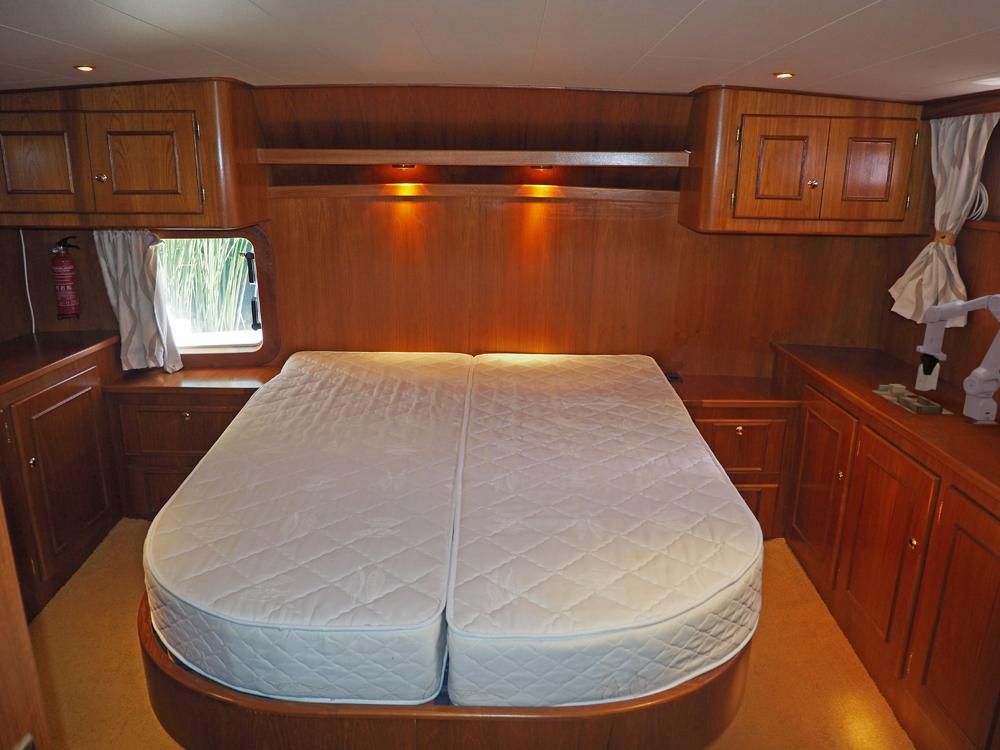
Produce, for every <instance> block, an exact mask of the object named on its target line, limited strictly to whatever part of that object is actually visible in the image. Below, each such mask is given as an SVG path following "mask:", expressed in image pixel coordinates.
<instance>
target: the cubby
mask: <svg viewBox="0 0 1000 750" xmlns="http://www.w3.org/2000/svg"><path fill="white" fill-rule="evenodd" d="M917 396H918V397H916V398H917V403H919V404H921V405H923V406H920V405H918V404H916V403H914V402H912V401H910V400H908V399H906V398H904V397H902V396H897V403H899V404H901V405H903V406H905V407H906V408H908V409H910V410H912V411H914V412H916V413H918V415H920V414H921V415H930V414H931V415H933V414H934V415H936V414H937V415H943V414H942V411H943V409H944V406H942V405H940V404H938V403H936V402H934V401H933V400H930V399H928V398H926V397H924V396H922V395H917Z"/></svg>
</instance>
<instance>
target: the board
mask: <svg viewBox="0 0 1000 750" xmlns="http://www.w3.org/2000/svg"><path fill="white" fill-rule="evenodd" d="M888 389H889V384H878V388H877V390H876V389H875V390H870V391H871V392H873V393H875V394H877V395H879V396H881V397H882V398H884V399H886V400H887V401H890V402H892V403H894V404H895V405H897V406H899V407H901V408H903V409H905V410H907V411H909V412H910V413H912V414H914V415H916V414H918V413H916V412H914V411H912V410H910V409H908V408H906V407H905V406H903V405H901V404H899V403H897V397H892V396H890V395H888ZM909 396H915V398H914V397H913V398H912V397H909ZM918 396H919V395H917V394H914V393H913V392H911V391H909V390H905V395H904V398H906V399H908V400H910V401H912V402H914V403H916V404H918V405H920V406H923V405H921V404H919V403H917V398H918ZM946 414H947V415H954V412H952V411H949V410H947V409H945V408H943V411H942V414H941V415H946ZM918 415H919V414H918Z"/></svg>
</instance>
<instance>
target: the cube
mask: <svg viewBox="0 0 1000 750" xmlns="http://www.w3.org/2000/svg"><path fill="white" fill-rule="evenodd" d="M888 385H889V389H888V395H890V396H892V397H897V396H902V397H904V395H905V391H906V389H907V387H906V386H905V385H902V384H900V383H899V384H898V383H894V384H893V383H889V384H888ZM905 396H906V395H905Z"/></svg>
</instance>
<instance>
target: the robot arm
mask: <svg viewBox="0 0 1000 750" xmlns="http://www.w3.org/2000/svg"><path fill="white" fill-rule="evenodd" d="M981 309H986V310H989V311H990V313H991V314H992V315H993V316H994V317H995V318H996V320H997V321H998V322H999V323H1000V294H998V293H996V294H994V295H993V294H992V295H988V294H987V295H985V296H981V297H978V298H975V299H972V300H971V299H970V300H968V301H964V300H962V299H958V298H956V299H952V301H951V302H947V303H945V302H942V303H940V305H931V306H929V307H928V308H926V310H925V311H924V317H925V319H926V322H927V323H926V328H925V332H924V333H925V334H924V340H923V344H922V345H917V346H916V350H915V351H916V352H919V353H923V354H920V355H919V359H920V360H921V364H922V366H923V374H924V375H931V374H932V372H933V370H934V368H935V366H936V365H937V364H938V363H940V362H941V361H947V354H945V353H944V352H943V351H942V348H943V347H942V346H943V345H942V344H943V342H944V341H943V339H944V335H945V329H946V327H947V324H948V322H949V321H950V320H953V319H957V318H961V317H965V316H966V315H967V314H968V312H969V311H975V310H981ZM985 354H986V355H984V358H983V360H982V362H981V364H980V365H979V367H977V368H975V369H973V370H972V371H971V373H970V375H969V376H967V377H966V378H964V380H963V384H962V385H963V386H962V387H963V389H964V391H965V394H966V395H965V400H964V401H965V402H964V405H963V411H962V414H963V415H964V416H966V417H969V418H971V419H974V420H968V422H969V423H972V424H973V425H997V422H996V420H995V419H996V417H997V416H996V415H997V410H998V403H997V402H996V401H995V400H994V399H993V396H994V393H995V392H997V391H998V390H999V388H1000V372H999V371H1000V329H999V330H998V332H997V334H996V336H995V338H993V341H992V343H991V345H990V347H989V349H988V350H987V352H986V353H985Z"/></svg>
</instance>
